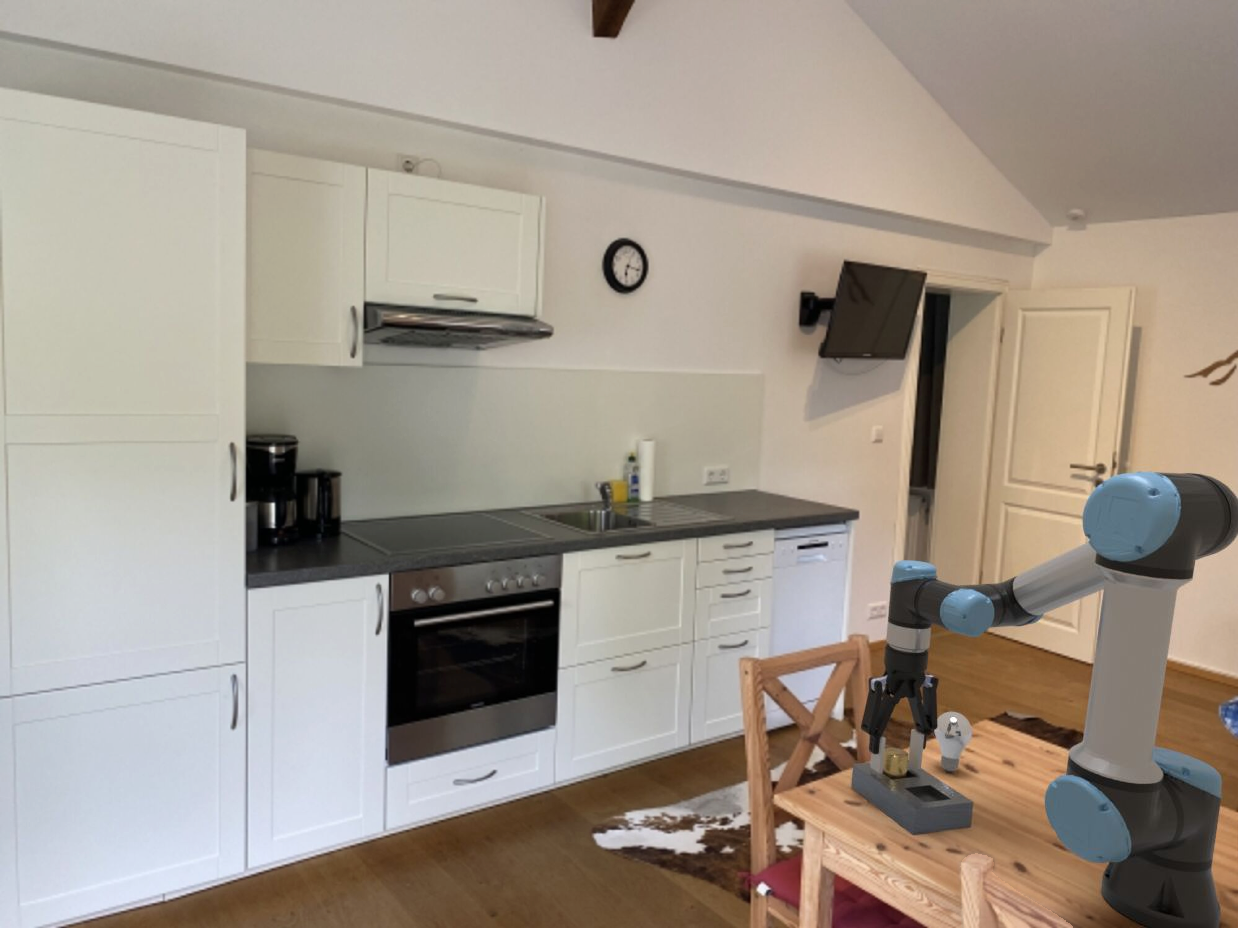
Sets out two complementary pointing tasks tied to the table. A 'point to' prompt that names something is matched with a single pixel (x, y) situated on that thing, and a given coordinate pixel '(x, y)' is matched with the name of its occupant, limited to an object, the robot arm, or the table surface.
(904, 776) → the brass cylinder
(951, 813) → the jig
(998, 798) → the table surface
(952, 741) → the light bulb
